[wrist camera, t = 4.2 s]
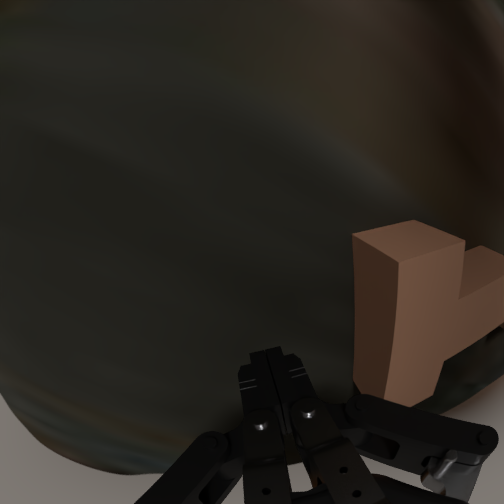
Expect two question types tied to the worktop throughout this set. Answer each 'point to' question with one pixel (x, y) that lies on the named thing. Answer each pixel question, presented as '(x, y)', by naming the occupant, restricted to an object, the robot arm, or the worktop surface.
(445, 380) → the worktop surface
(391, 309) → the T block
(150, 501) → the robot arm
